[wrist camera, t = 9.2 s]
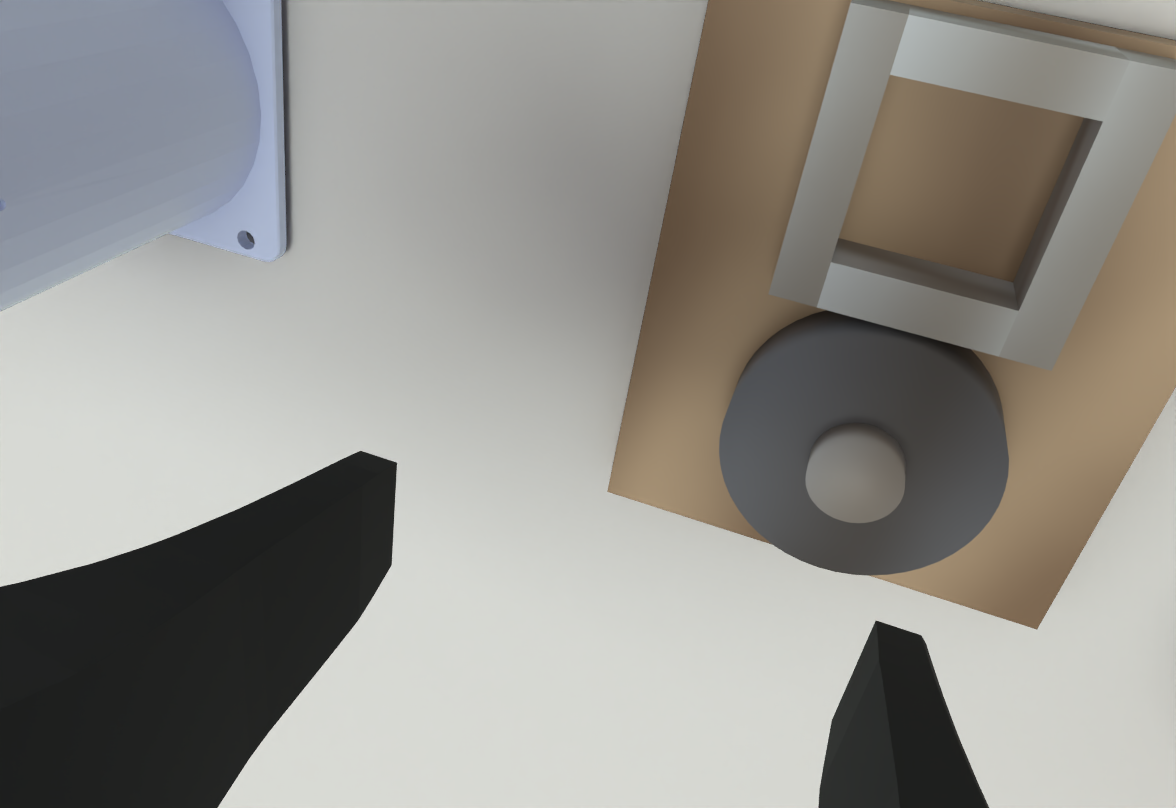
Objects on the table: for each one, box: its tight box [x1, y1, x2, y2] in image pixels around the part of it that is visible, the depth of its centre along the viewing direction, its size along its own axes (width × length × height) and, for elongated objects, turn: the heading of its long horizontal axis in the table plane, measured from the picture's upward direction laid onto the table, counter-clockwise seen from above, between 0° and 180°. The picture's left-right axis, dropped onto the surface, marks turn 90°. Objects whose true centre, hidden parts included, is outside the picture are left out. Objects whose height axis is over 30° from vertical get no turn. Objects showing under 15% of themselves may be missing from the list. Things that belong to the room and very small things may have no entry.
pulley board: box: [607, 0, 1176, 629], centre depth 20 cm, size 11×13×3 cm
